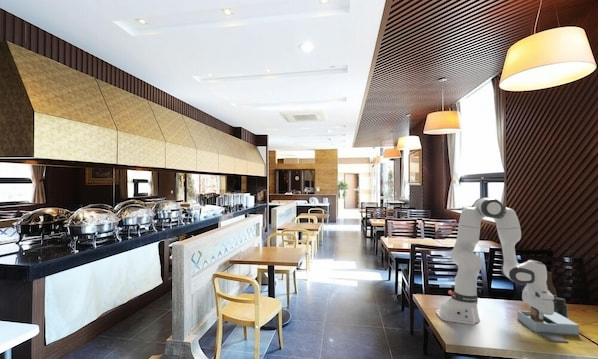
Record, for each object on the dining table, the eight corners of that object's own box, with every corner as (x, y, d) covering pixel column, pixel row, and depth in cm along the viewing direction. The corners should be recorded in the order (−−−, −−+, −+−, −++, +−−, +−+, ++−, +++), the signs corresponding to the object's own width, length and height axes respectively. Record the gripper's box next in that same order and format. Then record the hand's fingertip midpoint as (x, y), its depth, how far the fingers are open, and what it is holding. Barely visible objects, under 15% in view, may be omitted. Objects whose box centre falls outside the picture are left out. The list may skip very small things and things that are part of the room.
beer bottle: (553, 314, 177) (553, 274, 178) (538, 310, 184) (537, 271, 185) (559, 312, 181) (559, 272, 182) (544, 307, 188) (544, 269, 189)
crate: (536, 333, 154) (536, 322, 154) (517, 319, 170) (517, 309, 170) (578, 335, 152) (578, 324, 152) (555, 322, 168) (555, 312, 168)
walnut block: (535, 321, 160) (535, 310, 160) (530, 318, 164) (530, 307, 164) (543, 322, 159) (543, 310, 160) (538, 318, 163) (538, 307, 163)
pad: (550, 341, 146) (550, 340, 146) (539, 333, 154) (539, 332, 154) (568, 342, 145) (568, 341, 145) (555, 334, 153) (555, 333, 153)
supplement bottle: (571, 322, 167) (570, 301, 167) (557, 321, 168) (556, 300, 169) (562, 317, 174) (562, 297, 174) (549, 316, 175) (549, 295, 175)
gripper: (518, 284, 173) (518, 308, 172) (543, 296, 152) (543, 324, 152) (530, 284, 172) (530, 308, 172) (556, 297, 152) (556, 325, 151)
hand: (536, 316), depth 162 cm, fingers closed on walnut block, 4 cm apart
